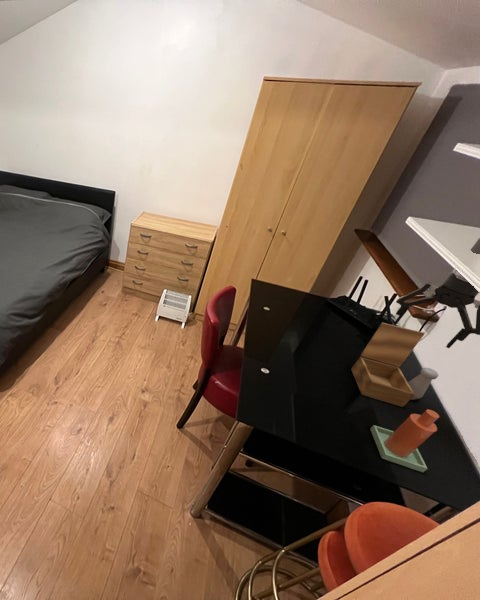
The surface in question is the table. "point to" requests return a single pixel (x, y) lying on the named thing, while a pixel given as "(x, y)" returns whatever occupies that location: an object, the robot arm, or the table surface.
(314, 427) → the table surface
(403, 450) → the bottle
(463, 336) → the robot arm
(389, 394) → the chest
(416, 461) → the tray
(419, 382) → the salt shaker
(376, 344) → the lid
